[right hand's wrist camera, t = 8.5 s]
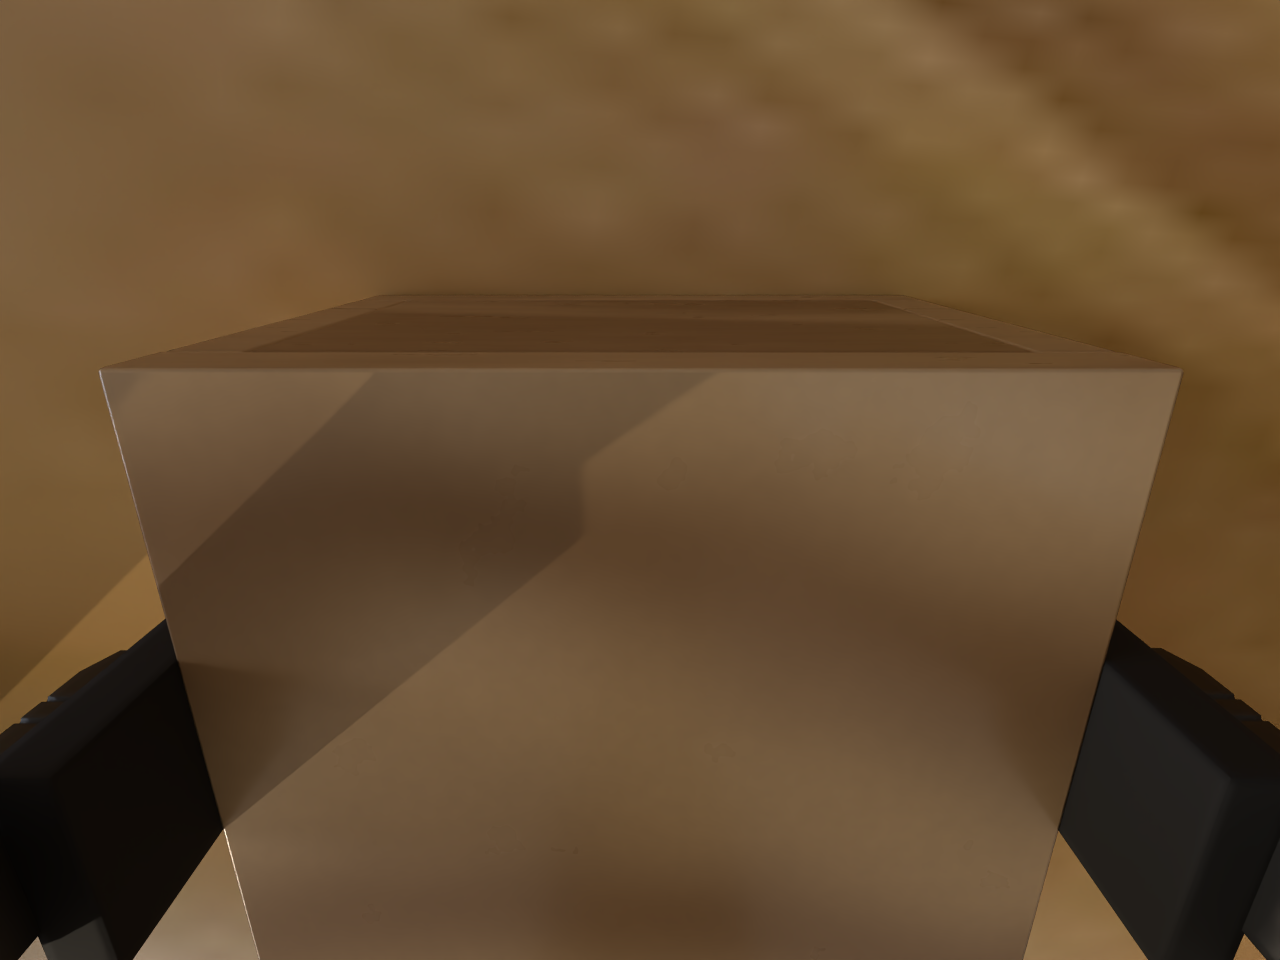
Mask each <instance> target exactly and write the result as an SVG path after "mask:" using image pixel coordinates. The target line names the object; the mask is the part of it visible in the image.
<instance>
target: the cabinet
mask: <svg viewBox="0 0 1280 960" xmlns="http://www.w3.org/2000/svg"><path fill="white" fill-rule="evenodd" d="M99 376H100V380H101V383H102V387H103V391H104V394H105V398H106V402H107V405H108V409H109V413H110V416H111V420H112V424H113V427H114V431H115V435H116V438H117V442H118V446H119V449H120V453H121V457H122V460H123V464H124V468H125V471H126V475H127V479H128V482H129V486H130V490H131V493H132V497H133V501H134V504H135V508H136V511H137V515H138V519H139V522H140V526H141V530H142V533H143V537H144V541H145V544H146V548H147V552H148V555H149V559H150V563H151V566H152V570H153V574H154V577H155V581H156V585H157V588H158V592H159V596H160V599H161V603H162V607H163V610H164V614H165V618H166V621H167V625H168V629H169V632H170V636H171V640H172V643H173V647H174V651H175V654H176V658H177V662H178V665H179V669H180V673H181V676H182V680H183V684H184V687H185V691H186V695H187V698H188V702H189V706H190V709H191V713H192V717H193V720H194V724H195V728H196V731H197V735H198V739H199V742H200V746H201V750H202V753H203V757H204V761H205V764H206V768H207V772H208V775H209V779H210V783H211V786H212V790H213V794H214V797H215V801H216V805H217V808H218V812H219V816H220V819H221V823H222V827H223V830H224V834H225V838H226V841H227V845H228V849H229V852H230V856H231V860H232V863H233V867H234V871H235V874H236V878H237V882H238V885H239V889H240V893H241V896H242V900H243V904H244V907H245V911H246V915H247V918H248V922H249V926H250V929H251V933H252V937H253V940H254V944H255V948H256V951H257V955H258V959H259V960H1023V958H1024V954H1025V950H1026V947H1027V943H1028V939H1029V936H1030V932H1031V928H1032V925H1033V921H1034V917H1035V914H1036V910H1037V906H1038V903H1039V899H1040V895H1041V892H1042V888H1043V885H1044V881H1045V877H1046V874H1047V870H1048V866H1049V863H1050V859H1051V855H1052V852H1053V848H1054V844H1055V841H1056V837H1057V833H1058V830H1059V826H1060V822H1061V819H1062V815H1063V811H1064V808H1065V804H1066V800H1067V797H1068V793H1069V790H1070V786H1071V782H1072V779H1073V775H1074V771H1075V768H1076V764H1077V760H1078V757H1079V753H1080V749H1081V746H1082V742H1083V738H1084V735H1085V731H1086V727H1087V724H1088V720H1089V716H1090V713H1091V709H1092V705H1093V702H1094V698H1095V695H1096V691H1097V687H1098V684H1099V680H1100V676H1101V673H1102V669H1103V665H1104V662H1105V658H1106V654H1107V651H1108V647H1109V643H1110V640H1111V636H1112V632H1113V629H1114V625H1115V621H1116V618H1117V614H1118V611H1119V607H1120V603H1121V600H1122V596H1123V592H1124V589H1125V585H1126V581H1127V578H1128V574H1129V570H1130V567H1131V563H1132V559H1133V556H1134V552H1135V548H1136V545H1137V541H1138V537H1139V534H1140V530H1141V526H1142V523H1143V519H1144V516H1145V512H1146V508H1147V505H1148V501H1149V497H1150V494H1151V490H1152V486H1153V483H1154V479H1155V475H1156V472H1157V468H1158V464H1159V461H1160V457H1161V453H1162V450H1163V446H1164V442H1165V439H1166V435H1167V431H1168V428H1169V424H1170V421H1171V417H1172V413H1173V410H1174V406H1175V402H1176V399H1177V395H1178V391H1179V388H1180V384H1181V380H1182V377H1183V370H1182V369H1181V368H1178V367H1175V366H1171V365H1167V364H1163V363H1159V362H1156V361H1152V360H1148V359H1144V358H1140V357H1137V356H1133V355H1129V354H1125V353H1116V352H1114V351H1111V350H1107V349H1104V348H1100V347H1096V346H1092V345H1088V344H1085V343H1081V342H1077V341H1073V340H1070V339H1066V338H1062V337H1058V336H1054V335H1051V334H1047V333H1043V332H1039V331H1036V330H1032V329H1028V328H1024V327H1020V326H1017V325H1013V324H1009V323H1005V322H1002V321H998V320H994V319H990V318H986V317H983V316H979V315H975V314H971V313H967V312H964V311H960V310H956V309H952V308H949V307H945V306H941V305H937V304H933V303H930V302H926V301H922V300H918V299H915V298H911V297H907V296H903V295H379V296H375V297H371V298H368V299H364V300H360V301H356V302H352V303H348V304H345V305H341V306H337V307H333V308H329V309H326V310H322V311H318V312H314V313H310V314H307V315H303V316H299V317H295V318H291V319H288V320H284V321H280V322H276V323H272V324H269V325H265V326H261V327H257V328H253V329H250V330H246V331H242V332H238V333H234V334H231V335H227V336H223V337H219V338H215V339H212V340H208V341H204V342H200V343H196V344H193V345H189V346H185V347H181V348H177V349H173V350H170V351H168V352H160V353H156V354H152V355H148V356H144V357H141V358H137V359H133V360H129V361H125V362H121V363H118V364H114V365H110V366H106V367H103V368H101V369H99Z"/></svg>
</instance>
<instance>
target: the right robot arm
mask: <svg viewBox="0 0 1280 960" xmlns="http://www.w3.org/2000/svg"><path fill="white" fill-rule="evenodd" d="M222 830H223V827H222V823H221V819H220V816H219V812H218V808H217V805H216V801H215V797H214V794H213V790H212V786H211V783H210V779H209V775H208V772H207V768H206V764H205V761H204V757H203V753H202V750H201V746H200V742H199V739H198V735H197V731H196V728H195V724H194V720H193V717H192V713H191V709H190V706H189V702H188V698H187V695H186V691H185V687H184V684H183V680H182V676H181V673H180V669H179V665H178V662H177V658H176V654H175V651H174V647H173V643H172V640H171V636H170V632H169V629H168V625H167V621H166V619H165V620H163V621H162V622H161V623H160V624H159V625H157V626H156V627H155V628H154V629H153V630H151V631H150V632H149V633H148V634H146V635H145V636H144V637H143V638H142V639H140V640H139V641H138V642H137V643H136V644H134V645H133V646H132V647H131V648H129V649H128V650H121V651H119V652H117V653H115V654H113V655H111V656H109V657H107V658H105V659H103V660H101V661H99V662H97V663H96V664H94V665H92V666H90V667H88V668H86V669H84V670H82V671H80V672H79V673H77V674H76V675H75V676H74V677H72V678H71V679H70V680H69V681H67V682H66V683H65V684H64V685H62V686H61V687H60V688H58V689H57V690H56V691H55V692H53V693H52V694H51V695H50V696H48V700H47V702H41V703H40V704H38V705H37V706H36V707H34V708H33V709H32V710H31V711H29V712H28V713H27V714H26V715H24V716H23V717H22V718H21V722H20V723H19V724H13V725H12V726H10V727H9V728H8V729H7V730H5V731H4V732H3V733H2V734H0V960H18V959H19V958H20V957H21V955H22V954H23V953H24V952H25V951H26V949H27V948H28V947H29V946H30V945H31V944H32V942H33V941H34V940H35V939H36V938H37V937H39V940H40V942H41V945H42V947H43V949H44V952H45V954H46V957H47V959H48V960H133V958H134V957H135V956H136V954H137V953H138V951H139V950H140V948H141V947H142V946H143V944H144V943H145V941H146V940H147V938H148V937H149V935H150V934H151V933H152V931H153V930H154V928H155V927H156V925H157V924H158V922H159V921H160V920H161V918H162V917H163V915H164V914H165V912H166V911H167V909H168V908H169V907H170V905H171V904H172V902H173V901H174V899H175V898H176V896H177V895H178V894H179V892H180V891H181V889H182V888H183V886H184V885H185V884H186V882H187V881H188V879H189V878H190V876H191V875H192V873H193V872H194V871H195V869H196V868H197V866H198V865H199V863H200V862H201V860H202V859H203V858H204V856H205V855H206V853H207V852H208V850H209V849H210V847H211V846H212V845H213V843H214V842H215V840H216V839H217V837H218V836H219V834H220V833H221V832H222ZM1059 832H1060V833H1061V835H1062V836H1063V838H1064V839H1065V841H1066V842H1067V843H1068V845H1069V846H1070V848H1071V849H1072V851H1073V852H1074V854H1075V855H1076V856H1077V858H1078V859H1079V861H1080V862H1081V864H1082V865H1083V867H1084V868H1085V869H1086V871H1087V872H1088V874H1089V875H1090V877H1091V878H1092V880H1093V881H1094V882H1095V884H1096V885H1097V887H1098V888H1099V890H1100V891H1101V892H1102V894H1103V895H1104V897H1105V898H1106V900H1107V901H1108V903H1109V904H1110V905H1111V907H1112V908H1113V910H1114V911H1115V913H1116V914H1117V916H1118V917H1119V918H1120V920H1121V921H1122V923H1123V924H1124V926H1125V927H1126V929H1127V930H1128V931H1129V933H1130V934H1131V936H1132V937H1133V939H1134V940H1135V941H1136V943H1137V944H1138V946H1139V947H1140V949H1141V950H1142V952H1143V953H1144V954H1145V956H1146V957H1147V959H1148V960H1233V959H1234V957H1235V954H1236V952H1237V950H1238V947H1239V945H1240V942H1241V940H1242V938H1243V935H1244V934H1245V935H1246V936H1247V937H1248V939H1249V940H1250V941H1251V942H1252V943H1253V944H1254V946H1255V947H1256V948H1257V949H1258V950H1259V951H1260V953H1261V954H1262V955H1263V956H1264V957H1265V958H1266V960H1280V730H1279V729H1277V728H1276V727H1275V726H1274V725H1272V724H1271V723H1270V722H1269V721H1262V719H1261V715H1260V714H1258V713H1257V712H1256V711H1255V710H1253V709H1252V708H1251V707H1249V706H1248V705H1247V704H1246V703H1244V702H1243V701H1242V700H1236V699H1235V698H1234V694H1233V693H1232V692H1230V691H1229V690H1228V689H1227V688H1225V687H1224V686H1223V685H1221V684H1220V683H1219V682H1218V681H1216V680H1215V679H1214V678H1213V677H1211V676H1210V675H1209V674H1207V673H1206V672H1205V671H1204V670H1202V669H1200V668H1199V667H1197V666H1195V665H1193V664H1191V663H1189V662H1187V661H1185V660H1183V659H1181V658H1179V657H1177V656H1175V655H1173V654H1171V653H1169V652H1168V651H1166V650H1164V649H1162V648H1150V647H1149V646H1148V645H1147V644H1145V643H1144V642H1143V641H1142V640H1140V639H1139V638H1138V637H1137V636H1136V635H1134V634H1133V633H1132V632H1131V631H1130V630H1128V629H1127V628H1126V627H1125V626H1123V625H1122V624H1121V623H1120V622H1119V621H1117V620H1116V621H1115V625H1114V629H1113V632H1112V636H1111V640H1110V643H1109V647H1108V651H1107V654H1106V658H1105V662H1104V665H1103V669H1102V673H1101V676H1100V680H1099V684H1098V687H1097V691H1096V695H1095V698H1094V702H1093V705H1092V709H1091V713H1090V716H1089V720H1088V724H1087V727H1086V731H1085V735H1084V738H1083V742H1082V746H1081V749H1080V753H1079V757H1078V760H1077V764H1076V768H1075V771H1074V775H1073V779H1072V782H1071V786H1070V790H1069V793H1068V797H1067V800H1066V804H1065V808H1064V811H1063V815H1062V819H1061V822H1060V826H1059Z"/></svg>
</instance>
